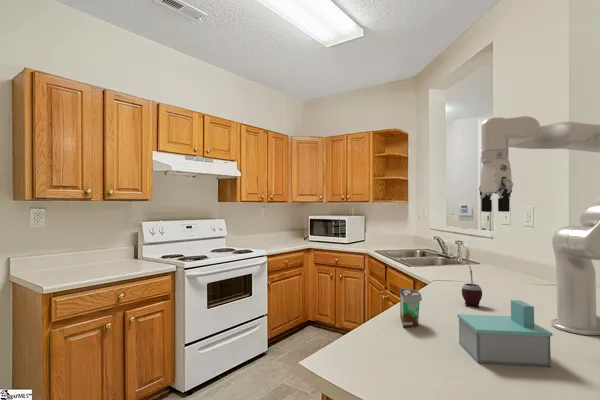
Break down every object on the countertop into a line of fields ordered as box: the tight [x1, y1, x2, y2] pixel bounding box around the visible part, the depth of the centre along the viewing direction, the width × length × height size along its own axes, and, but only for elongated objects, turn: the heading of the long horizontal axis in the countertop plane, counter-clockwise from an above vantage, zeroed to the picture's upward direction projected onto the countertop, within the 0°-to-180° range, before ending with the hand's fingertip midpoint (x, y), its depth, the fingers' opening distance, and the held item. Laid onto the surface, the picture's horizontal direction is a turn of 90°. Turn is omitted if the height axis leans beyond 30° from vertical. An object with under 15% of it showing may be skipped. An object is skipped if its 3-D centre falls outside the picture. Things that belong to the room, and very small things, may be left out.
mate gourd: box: [461, 264, 483, 309], centre depth 132 cm, size 8×8×15 cm
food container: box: [399, 287, 423, 329], centre depth 109 cm, size 12×6×10 cm, turn 168°
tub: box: [458, 318, 552, 368], centre depth 86 cm, size 16×12×7 cm
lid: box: [457, 299, 553, 337], centre depth 86 cm, size 17×13×7 cm
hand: (494, 211), depth 108 cm, fingers open, 9 cm apart
